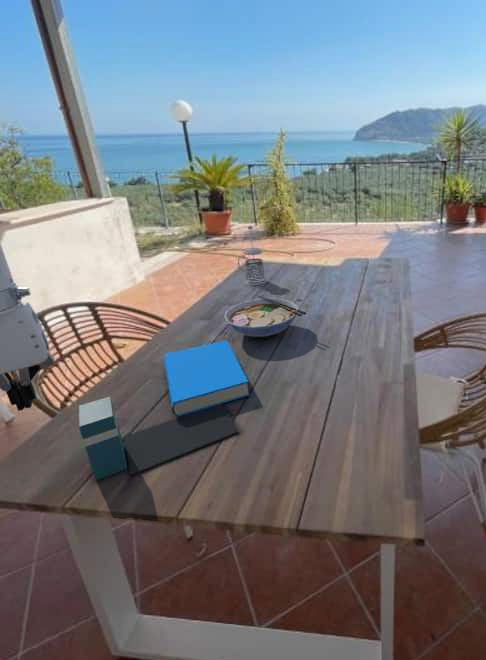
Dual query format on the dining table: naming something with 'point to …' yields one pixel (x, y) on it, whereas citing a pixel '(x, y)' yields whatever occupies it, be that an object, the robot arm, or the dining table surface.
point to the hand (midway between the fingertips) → (25, 404)
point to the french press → (253, 261)
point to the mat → (177, 437)
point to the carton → (102, 437)
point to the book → (204, 377)
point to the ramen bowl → (262, 316)
